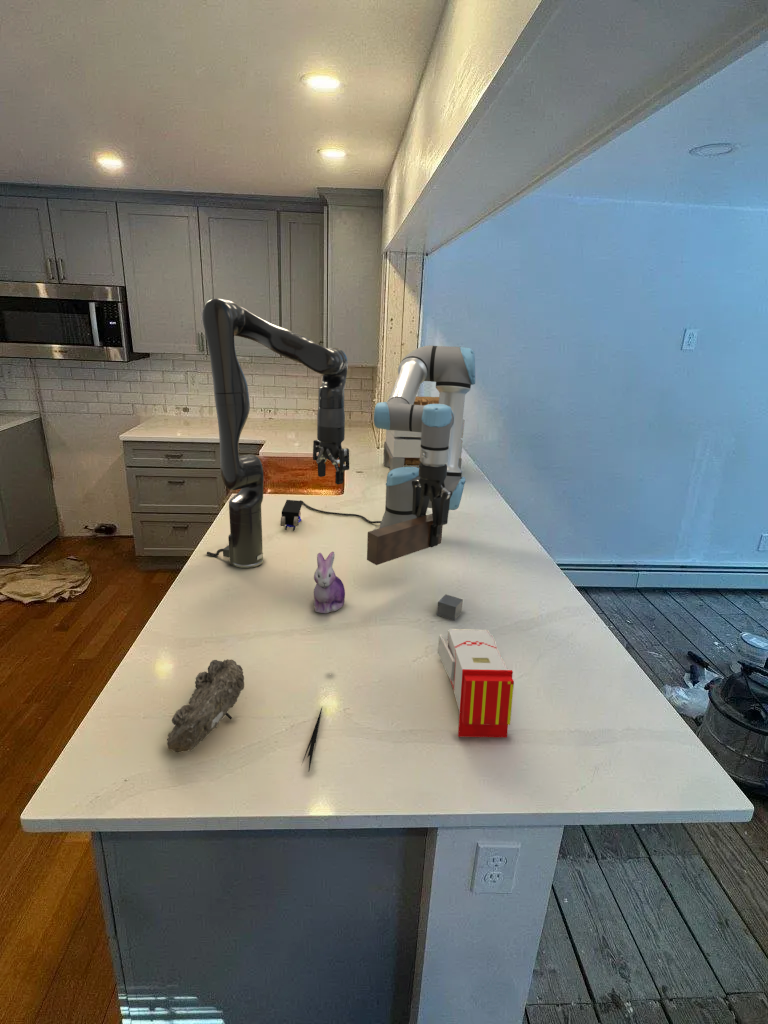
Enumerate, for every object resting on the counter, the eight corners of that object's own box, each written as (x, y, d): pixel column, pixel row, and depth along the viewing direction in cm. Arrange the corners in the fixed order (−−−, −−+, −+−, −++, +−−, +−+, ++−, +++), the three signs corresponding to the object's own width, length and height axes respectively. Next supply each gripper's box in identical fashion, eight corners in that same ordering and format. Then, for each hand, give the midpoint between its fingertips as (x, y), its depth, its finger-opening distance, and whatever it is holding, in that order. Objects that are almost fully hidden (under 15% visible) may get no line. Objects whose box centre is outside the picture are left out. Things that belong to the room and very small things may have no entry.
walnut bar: (376, 565, 146) (377, 536, 143) (366, 559, 149) (367, 531, 146) (441, 543, 161) (443, 517, 158) (431, 538, 164) (433, 513, 161)
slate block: (436, 615, 148) (437, 601, 146) (444, 607, 152) (445, 594, 151) (454, 620, 146) (455, 607, 144) (461, 612, 150) (463, 599, 148)
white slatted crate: (382, 463, 289) (386, 382, 275) (445, 464, 293) (451, 384, 279) (390, 482, 257) (394, 392, 243) (460, 483, 261) (468, 394, 247)
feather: (331, 679, 122) (336, 673, 122) (307, 777, 96) (313, 769, 95) (324, 675, 122) (329, 669, 121) (298, 772, 95) (304, 764, 95)
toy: (488, 613, 130) (523, 677, 101) (484, 667, 133) (517, 744, 104) (435, 612, 130) (455, 676, 101) (432, 666, 133) (451, 743, 103)
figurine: (319, 618, 143) (319, 564, 138) (305, 600, 152) (304, 548, 147) (353, 610, 148) (354, 558, 143) (337, 593, 156) (338, 543, 151)
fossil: (192, 660, 117) (244, 628, 112) (224, 691, 120) (276, 661, 115) (142, 746, 98) (202, 712, 93) (182, 779, 101) (242, 748, 96)
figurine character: (299, 536, 197) (303, 517, 210) (298, 517, 193) (303, 498, 207) (279, 536, 197) (285, 516, 210) (278, 516, 193) (285, 497, 207)
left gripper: (305, 420, 158) (305, 476, 164) (335, 429, 148) (334, 488, 154) (327, 417, 163) (326, 472, 168) (357, 426, 153) (356, 484, 158)
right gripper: (401, 458, 155) (397, 536, 164) (446, 473, 143) (440, 557, 152) (421, 454, 160) (416, 530, 168) (466, 468, 148) (459, 550, 156)
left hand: (330, 480), depth 161 cm, fingers open, 8 cm apart
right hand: (427, 543), depth 160 cm, fingers closed on walnut bar, 4 cm apart
